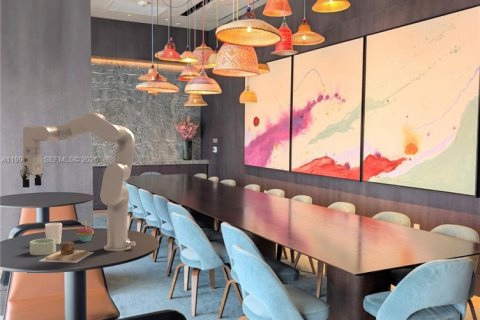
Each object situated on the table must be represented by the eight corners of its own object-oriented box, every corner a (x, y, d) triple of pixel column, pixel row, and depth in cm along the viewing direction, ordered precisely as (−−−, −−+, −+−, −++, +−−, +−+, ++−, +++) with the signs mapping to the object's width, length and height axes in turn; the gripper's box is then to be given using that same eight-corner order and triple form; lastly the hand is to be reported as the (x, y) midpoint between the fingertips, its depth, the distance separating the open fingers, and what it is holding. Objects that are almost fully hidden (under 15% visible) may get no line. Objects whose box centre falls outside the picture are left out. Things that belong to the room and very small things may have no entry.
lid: (88, 253, 193) (87, 239, 193) (74, 260, 180) (74, 246, 180) (61, 252, 194) (61, 239, 194) (45, 259, 181) (45, 245, 181)
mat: (94, 253, 195) (94, 252, 195) (76, 263, 178) (76, 262, 178) (59, 251, 196) (59, 251, 196) (38, 261, 179) (38, 261, 179)
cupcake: (95, 241, 218) (95, 218, 218) (79, 243, 213) (78, 220, 213) (91, 238, 225) (91, 216, 225) (75, 240, 221) (74, 217, 220)
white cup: (57, 241, 218) (57, 222, 218) (65, 243, 213) (64, 223, 213) (42, 243, 212) (42, 224, 212) (49, 246, 207) (49, 226, 207)
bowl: (60, 250, 199) (60, 238, 199) (47, 256, 188) (47, 244, 188) (38, 249, 200) (38, 238, 200) (24, 255, 189) (24, 243, 189)
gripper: (28, 152, 195) (28, 188, 196) (48, 151, 212) (49, 185, 213) (13, 151, 196) (13, 188, 197) (35, 151, 213) (35, 184, 214)
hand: (32, 186), depth 205 cm, fingers open, 9 cm apart
